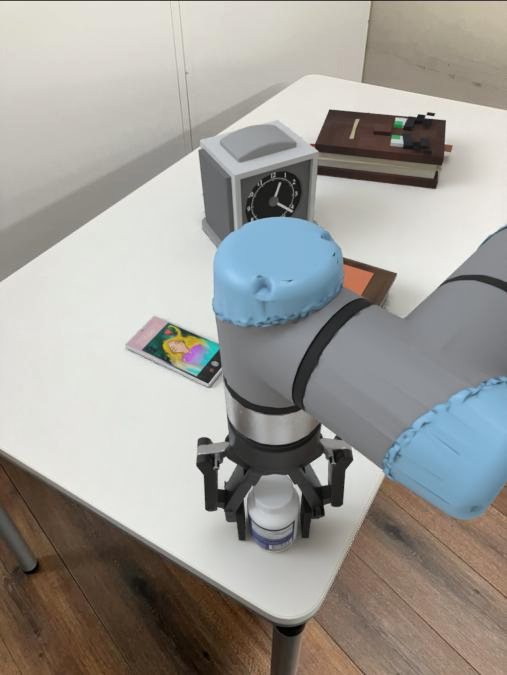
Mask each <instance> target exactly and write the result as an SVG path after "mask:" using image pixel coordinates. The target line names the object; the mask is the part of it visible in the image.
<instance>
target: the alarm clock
mask: <svg viewBox="0 0 507 675" xmlns="http://www.w3.org/2000/svg"><path fill="white" fill-rule="evenodd" d="M310 144H311V143H308V142H307V141H306V140H305V139H304V138H302V137H301V136H299V134H297V133H296V132H294V131H293V130H292V129H291V128H289V127H288V126H287V125H285V124H284V123H283V122H281V121H280V120H279V119H276V120H272V121H269V122H265V123H261V124H254V125H253V124H252V125H249V126H245V127H242V128H239V129H236V130H233V131H230V132H225V133H222V134H218V135H214V136H210V137H206V138H202V139H199V145H200V148H199V149H198V151H197V153H198V160H199V162H198V163H199V169H200V170H199V172H200V179H201V189H202V190H201V191H202V199H203V206H204V217H203V218H202V220H201V228H202V231H203V232H204V233H205V235H206V236H207V237H208V239H209V240H210V241H211V242H212V244H213V245H214V246H215V247H216V250H217V249H218V247H219V245H220V244H221V242H222V241H223V240H224V239H225V238H226V237H227V236H228V235H229V234H230V233H231V232H234V231H235V230H238V229H240V228H241V227H242V226H243V225H244V224H247V223H249V222H252V221H255V220H259V219H264V218H270V217H291V218H298V219H302V220H306V221H309V222H312V223H314V224H316V225H318V226H319V223H318V222H316V221H315V206H316V205H315V204H316V193H317V192H316V190H317V181H318V180H317V178H318V177H317V176H318V175H317V167H318V153H319V151H317V150H316V149H315V148H314V147H312V146H311V145H310Z"/></svg>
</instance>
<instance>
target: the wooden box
mask: <svg viewBox="0 0 507 675" xmlns="http://www.w3.org/2000/svg"><path fill="white" fill-rule="evenodd" d="M343 269H344V271H345V274H344V281H343V285H344V287H346V288H348V289H349V290H351V291H353V292H355V293H357V294H359V295H360V296H362V297H364V298H365V299H367V300H369V301H371V302H372V303H374V304H376V305H378V306H380V307H381V308H383V306H384V305H385V303H386V301H387V299H388V296H389V292H390V290H391V288H392V286H393V284H394V283H395V281H396V280H397V276H398V273H397V272H394V271H391V270H387V269H384V268H381V267H377V266H374V265H371V264H367V263H364V262H362V261H358V260H354V259H352V258H347V257H344V256H343Z"/></svg>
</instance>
